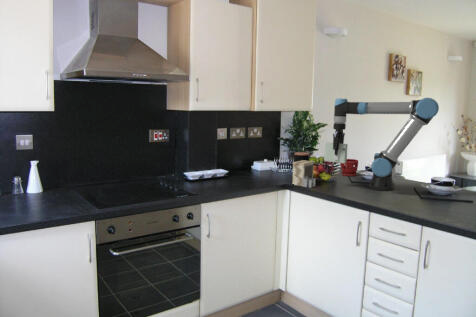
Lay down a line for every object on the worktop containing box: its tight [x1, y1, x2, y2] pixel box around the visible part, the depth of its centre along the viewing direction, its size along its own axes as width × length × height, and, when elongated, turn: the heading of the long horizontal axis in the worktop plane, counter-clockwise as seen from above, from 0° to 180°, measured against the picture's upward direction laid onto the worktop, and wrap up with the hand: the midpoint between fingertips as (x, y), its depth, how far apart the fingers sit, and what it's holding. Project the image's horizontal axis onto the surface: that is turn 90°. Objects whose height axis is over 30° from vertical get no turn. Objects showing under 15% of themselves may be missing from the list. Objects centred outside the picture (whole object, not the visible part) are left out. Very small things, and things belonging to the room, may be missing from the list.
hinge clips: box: [301, 176, 317, 188], centre depth 259 cm, size 6×6×6 cm
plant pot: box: [340, 158, 359, 177], centre depth 302 cm, size 13×13×12 cm
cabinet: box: [291, 160, 315, 187], centre depth 266 cm, size 9×14×15 cm, turn 143°
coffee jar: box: [293, 151, 310, 162], centre depth 288 cm, size 11×11×18 cm
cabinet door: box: [323, 141, 348, 163], centre depth 252 cm, size 14×4×12 cm, turn 53°
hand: (337, 159), depth 252 cm, fingers closed on cabinet door, 3 cm apart
